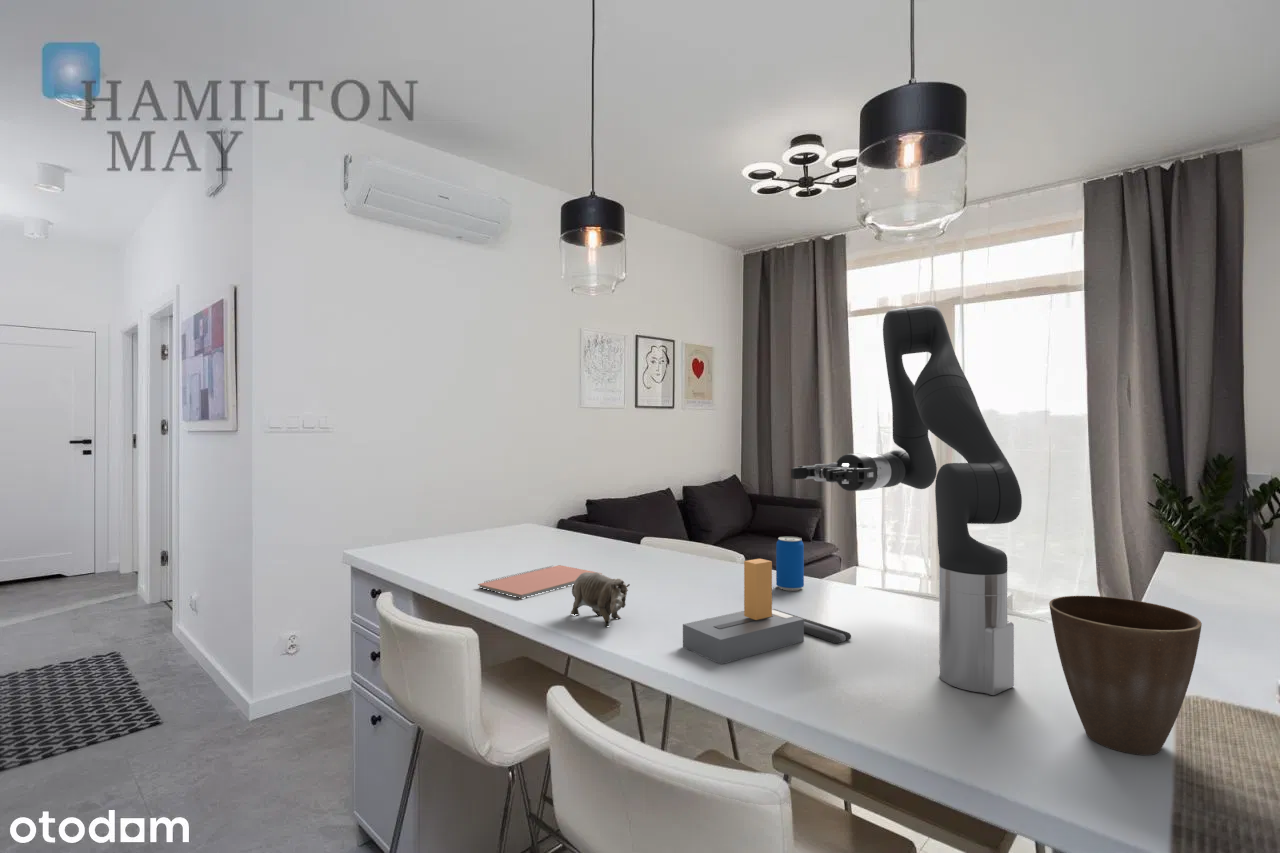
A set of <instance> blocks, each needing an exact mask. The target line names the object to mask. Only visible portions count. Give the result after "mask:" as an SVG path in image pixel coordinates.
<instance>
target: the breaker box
mask: <svg viewBox="0 0 1280 853" xmlns="http://www.w3.org/2000/svg"><path fill="white" fill-rule="evenodd" d="M774 609H775V608H772V616H771V617H767V618H763V619H759V620H754V619H751V618H749V617H746V616H744V610H741V611H737V612H733V613H729V614H728V613H727V614H723V615H719V616H714V617H710V618H705V619H701V620H695V621H691V622H688V623H687V622H686V623H683V624H682V648H684V649H686V648H687V650H689V651H691V652H693V653H695V654H698V655H699V656H702V657H703V658H706V659H708V660H709V661H712V662H715V663H716V664H719V665H723V664H726V663H730V662H734V661H738V660H741V659H744V658H749V657H752V656H756V655H760V654H762V653H766V652H767V653H768V652H769V651H773V650H778V649H781V648H784V647H788V646H792V645H795V644H796V645H797V644H798V643H803V642H805V633H804V619H805V618H804V619H802V618H803V617H801V618H799V617H800V616H798V617H796V616H797V615H795V616H792V615H793V614H792V615H789V614H790V613H789V614H786V613H787V612H785V613H783V612H784V611H782V612H780V611H781V610H779V611H777V610H778V609H776V610H774Z"/></svg>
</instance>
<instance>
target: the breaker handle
mask: <svg viewBox="0 0 1280 853" xmlns="http://www.w3.org/2000/svg"><path fill="white" fill-rule="evenodd" d="M743 566H744V567H743V568H744V571H743V572H744V573H743V575H744V576H743V590H744V591H743V606H744V608H743V611H744V616H746V617H749V618H751V619H754V620H759V619H763V618H767V617H771V616H772V609H773V561H772V560H768V559H765V558H764V559H763V558H754V559H748V560H744V561H743Z"/></svg>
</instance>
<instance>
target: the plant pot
mask: <svg viewBox="0 0 1280 853" xmlns="http://www.w3.org/2000/svg"><path fill="white" fill-rule="evenodd" d="M1048 606H1049V611H1050V618H1051V622H1052V629H1053V634H1054V638H1055V643H1056V647H1057V652H1058V656H1059V660H1060V663H1061V664H1060V665H1061V667H1062V670H1063V671H1062V672H1063V674H1064V677H1065V681H1066V684H1067V687H1068V690H1069V693H1070V696H1071V699H1072V701H1073V704H1074V706H1075V709H1076V712H1077V714H1078V717H1079V719H1080V722H1081V724H1082V726H1083V729H1084V731H1085V734H1086V735H1087V736H1088V737H1089V738H1090V739H1091V740H1092V741H1094V742H1096V743H1097V744H1099V745H1101V746H1104V747H1105V748H1108V749H1111V750H1114V751H1117V752H1118V751H1119V752H1122V753H1125V754H1131V755H1142V756H1149V755H1155V754H1157V753H1159V752H1160V751H1161V750H1162V748H1163V747H1164V745H1165V743H1166V742H1167V739H1168V737H1169V736H1170V733H1171V731H1172V729H1173V726H1174V725H1175V723H1176V720H1177V718H1178V716H1179V713H1180V712H1181V708H1182V705H1183V703H1184V700H1185V697H1186V694H1187V691H1188V689H1189V685H1190V683H1191V679H1192V675H1193V671H1194V668H1195V667H1194V666H1195V663H1196V662H1195V661H1196V658H1197V654H1198V647H1199V643H1200V637H1201V631H1202V626H1203V625H1202V624H1203V623H1202V622H1201V620H1200V619H1199V618H1198V617H1196V616H1194V615H1192V614H1190V613H1187V612H1185V611H1181V610H1180V609H1175V608H1173V607H1168V606H1165V605H1161V604H1156V603H1151V602H1147V601H1140V600H1135V599H1128V598H1120V597H1112V596H1100V595H1099V596H1097V595H1067V596H1061V597H1060V596H1058V597H1055V598H1053V599H1051V600H1050V601H1049V603H1048Z"/></svg>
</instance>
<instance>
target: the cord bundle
mask: <svg viewBox="0 0 1280 853" xmlns="http://www.w3.org/2000/svg"><path fill="white" fill-rule="evenodd" d="M773 609H774V610H777V611H780V612H783V613H786V614H789V615H792V616H796V617H799V618H802V619H804V634H807V635H811V636H812V637H813V636H814V637H816V638H819V639H822V640H825V641H828V642H831V643H834V644H840V642H841V643H844V642H845V641H850V640H851V639H852V635H851V633H850V632H848V631H845V630H842V629H838V628H835V627H833V626H828V625H826V624H823V623H820V622H816V621H814V620H810V619H808V618H803V617H800V616H798V615H795V614H791V613H788V612H785V611H781V610H779V609H775V608H773Z"/></svg>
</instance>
